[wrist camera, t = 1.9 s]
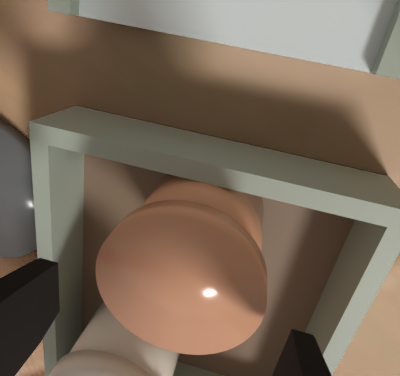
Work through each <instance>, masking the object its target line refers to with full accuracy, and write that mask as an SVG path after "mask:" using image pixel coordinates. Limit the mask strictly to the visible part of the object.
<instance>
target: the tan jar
mask: <svg viewBox="0 0 400 376" xmlns="http://www.w3.org/2000/svg"><path fill="white" fill-rule="evenodd" d="M263 214H264V207H263V200H262V197H260V196H256V195H252V194H248V193H244V192H240V191H236V190H231V189H227V188H223V187H219V186H215V185H211V184H207V183H203V182H198V181H194V180H190V179H186V178H182V177H178V176H174V175H170V174H166V176H165V177H164V178H163V179H162V181H161V182H160V183H159V185H158V186H157V187H156V188H155V190H154V191H153V192H152V194H151V195H150V196H149V197H148V199H147V200H146V201H145V203H144V204H143V205H142V206H141V207H139V208H137V209H135V210H134V211H132V212H131V213H129V214H128V215H127V216H126V217H125V218H124V219H123V220H122V221H121V222H120V223H119V224H118V225H117V226H116V228H115V229H114V230H113V231H112V232H111V234H110V235H109V236H108V237H107V239H106V240H105V241H104V243H103V244H102V246H101V248H100V250H99V253H98V256H97V260H96V268H95V270H96V281H97V286H98V289H99V292H100V295H101V297H102V299H103V301H104V303H105V304H106V306H107V308H108V309H109V311H110V312H111V313H112V314H113V316H114V317H115V318H116V319H117V320H118V321H119V322H120V323H121V324H122V325H123V326H124V327H125V328H126V329H128V330H129V331H130V332H131V333H133V334H134V335H136V336H137V337H139V338H140V339H142V340H144V341H146V342H148V343H150V344H152V345H154V346H156V347H159V348H162V349H165V350H168V351H172V352H176V353H182V354H190V355H207V354H215V353H219V352H223V351H227V350H229V349H232V348H234V347H236V346H238V345H240V344H241V343H243V342H244V341H246V340H247V339H248V338H250V336H251V335H252V334H253V333H254V332H255V331H256V330H257V328H258V327H259V326H260V324H261V322H262V320H263V317H264V315H265V311H266V306H267V279H268V277H267V268H266V264H265V260H264V257H263V255H262V252H261V251H262V232H263Z"/></svg>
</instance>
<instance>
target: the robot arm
mask: <svg viewBox="0 0 400 376" xmlns="http://www.w3.org/2000/svg"><path fill="white" fill-rule="evenodd" d="M59 311H60V303H59V273H58V263H57V262H54V261H50V260H47V259H43V258H38V259H36V260H34V261H32V262H30V263H28V264H27V265H25V266H23V267H21V268H19V269H17V270H15V271H13V272H11V273H10V274H8V275H6V276H4V277H2V278H0V376H15V375H16V373H17V372H18V371H19V369H20V368H21V367H22V366H23V364H24V363H25V362H26V360H27V359H28V358H29V357H30V355H31V354H32V353H33V351H34V350H35V349H36V347H37V346H38V345H39V343H40V342H41V341H42V339H43V337H44V336H45V334H46V333H47V331H48V329H49V328H50V326H51V325H52V323H53V321H54V319H55V318H56V316H57V314H58V313H59ZM272 376H332V375H331V373H330V371H329V368H328V366H327V364H326V362H325V359H324V357H323V355H322V352H321V350H320V348H319V345H318V343H317V341H316V338H315V337H314V335H312V334H309V333H305V332H302V331H298V330H295V329H291V331H290V334H289V336H288V339H287V341H286V343H285V346H284V348H283V350H282V353H281V355H280V358H279V360H278V362H277V365H276V367H275V369H274V372H273V374H272Z"/></svg>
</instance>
